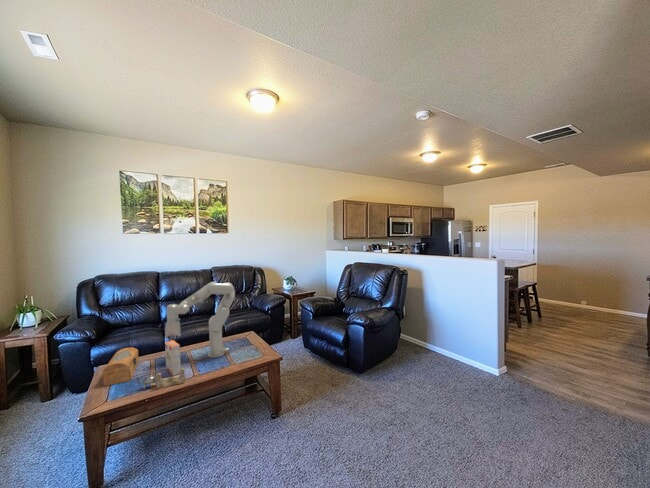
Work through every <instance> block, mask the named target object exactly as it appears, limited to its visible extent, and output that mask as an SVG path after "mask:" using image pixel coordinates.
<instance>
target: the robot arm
mask: <svg viewBox="0 0 650 488" xmlns="http://www.w3.org/2000/svg"><path fill="white" fill-rule="evenodd" d="M211 295H223V296H222V299H221V301H220V302H219V303H218V306H216V310H215V311H216V312H215V315H211V317H210V318H209V320H208V332H209V335H208V336H209V352H208V354H207V356H208V357H209V358H219V357H222V356H224V355H225V353H226V352H227V351H229V347H223V326H224V325H225V323H226V321H227V319H228V318H229V316H230V307H231V306H232V304H233V301H234V300H235V298H236V297H235V296H236V291H235V287H234V285H233V284H232V283H231V282H229V281H228V282H227V281H226V282H224V283H217V282H215V281H211V282H209V283H207V284H205V285H204V286H202V287H201V288H200V289H199V290H197V291H196V292H194V293H193V294H191V295H189V296H188V297H187V298H185V299H184V300H182V301H181V302H180V303H179V304H176V303H172V304H168V305H167V306H166V323H165V327H164V328H165V330H164V334H165V336H164V339H168V340H169V341H171V340H174V341H175V342H176V339H177V338H178V337H180V336H182V334H181V323H180V321H181V318H180V317H179V315H185V314H187V313H188V312H189V311H190V308H191V307H193V306H194V305H195V304H197V303H200V302H202V301H203V302H204V301H205V300H206V299H207V298H208V297H210V296H211Z"/></svg>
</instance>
